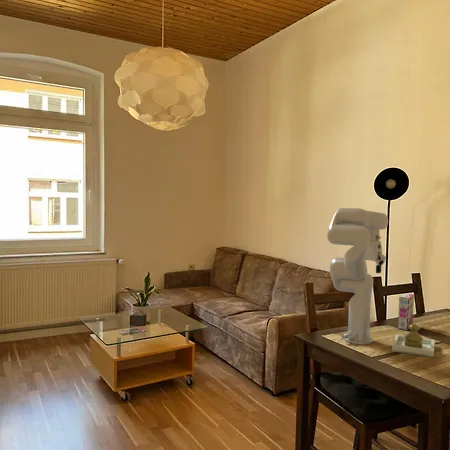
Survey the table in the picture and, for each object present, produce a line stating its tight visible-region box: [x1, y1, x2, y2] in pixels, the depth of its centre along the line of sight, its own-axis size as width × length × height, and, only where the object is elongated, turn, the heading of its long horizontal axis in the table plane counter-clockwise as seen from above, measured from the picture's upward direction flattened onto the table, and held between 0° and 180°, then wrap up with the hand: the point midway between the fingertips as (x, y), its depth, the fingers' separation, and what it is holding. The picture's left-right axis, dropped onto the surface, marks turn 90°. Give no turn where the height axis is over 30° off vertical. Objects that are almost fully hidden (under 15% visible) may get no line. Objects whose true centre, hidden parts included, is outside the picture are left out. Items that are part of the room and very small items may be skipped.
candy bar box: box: [397, 293, 415, 331], centre depth 218 cm, size 11×5×16 cm, turn 144°
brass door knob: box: [404, 323, 424, 349], centre depth 187 cm, size 7×7×10 cm
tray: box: [391, 334, 436, 359], centre depth 188 cm, size 16×16×3 cm
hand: (370, 271), depth 218 cm, fingers open, 9 cm apart
